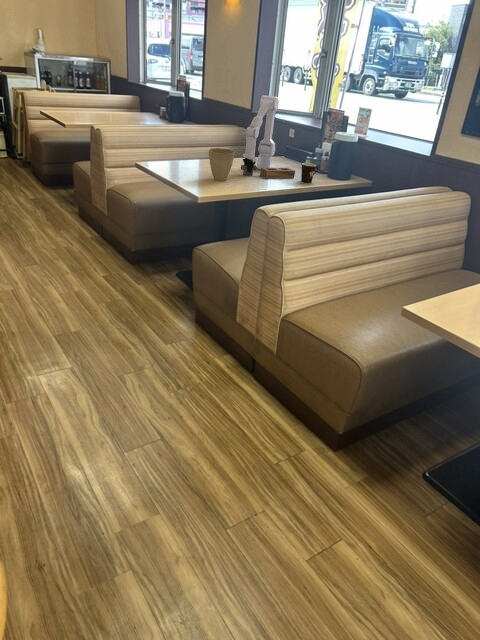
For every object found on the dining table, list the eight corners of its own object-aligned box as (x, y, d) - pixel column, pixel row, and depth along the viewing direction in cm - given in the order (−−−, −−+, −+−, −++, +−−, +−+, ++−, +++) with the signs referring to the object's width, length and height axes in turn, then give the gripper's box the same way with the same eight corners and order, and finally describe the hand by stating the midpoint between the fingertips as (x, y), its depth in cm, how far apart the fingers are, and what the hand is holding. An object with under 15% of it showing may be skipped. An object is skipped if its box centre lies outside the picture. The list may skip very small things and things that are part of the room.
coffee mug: (301, 182, 284) (304, 165, 279) (297, 179, 291) (300, 162, 286) (319, 183, 286) (322, 166, 281) (315, 180, 293) (318, 163, 289)
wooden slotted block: (260, 175, 291) (260, 167, 289) (287, 174, 300) (288, 167, 297) (266, 178, 285) (267, 170, 283) (294, 178, 293) (295, 170, 291)
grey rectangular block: (240, 174, 288) (241, 164, 285) (253, 174, 292) (254, 164, 289) (242, 175, 286) (243, 165, 283) (255, 175, 290) (256, 165, 287)
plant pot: (203, 176, 275) (205, 147, 267) (227, 176, 280) (229, 148, 272) (211, 182, 263) (213, 153, 255) (236, 182, 268) (238, 153, 260)
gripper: (239, 146, 285) (237, 169, 292) (249, 150, 274) (247, 174, 281) (249, 146, 288) (247, 168, 295) (260, 151, 277) (257, 174, 284)
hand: (248, 171), depth 288 cm, fingers open, 3 cm apart
